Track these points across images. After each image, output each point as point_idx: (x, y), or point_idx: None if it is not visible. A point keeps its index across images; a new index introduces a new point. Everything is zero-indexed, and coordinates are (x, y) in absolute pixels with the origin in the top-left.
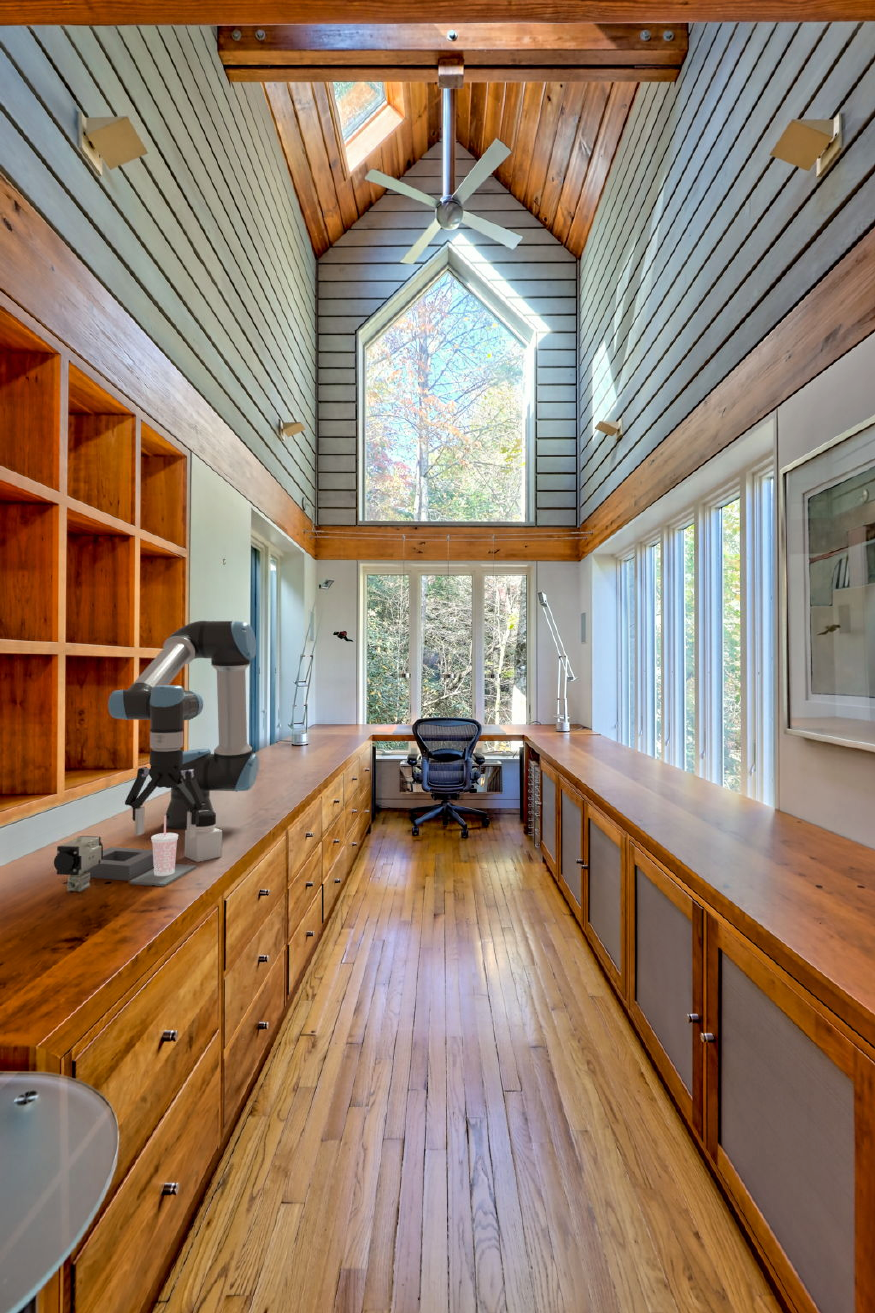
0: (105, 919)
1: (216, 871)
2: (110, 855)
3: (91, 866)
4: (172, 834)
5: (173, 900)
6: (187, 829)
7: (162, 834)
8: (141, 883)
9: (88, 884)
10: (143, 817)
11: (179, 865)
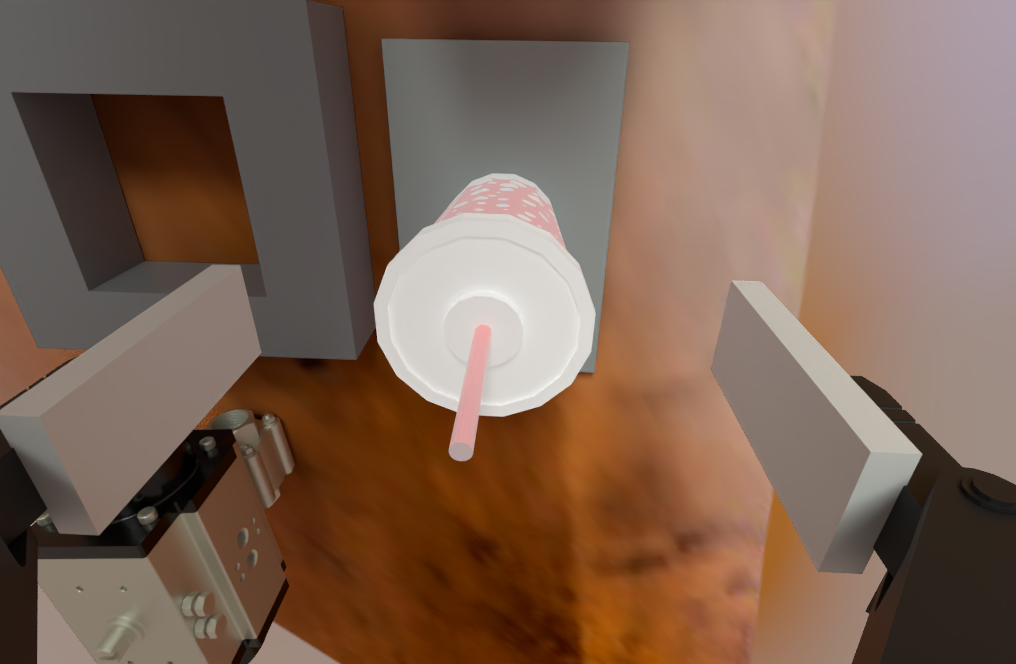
0: (552, 617)
1: (787, 84)
2: (48, 150)
3: (253, 491)
4: (513, 256)
5: (700, 484)
6: (743, 419)
7: (450, 318)
8: None
9: (277, 433)
10: (150, 358)
11: (515, 66)
